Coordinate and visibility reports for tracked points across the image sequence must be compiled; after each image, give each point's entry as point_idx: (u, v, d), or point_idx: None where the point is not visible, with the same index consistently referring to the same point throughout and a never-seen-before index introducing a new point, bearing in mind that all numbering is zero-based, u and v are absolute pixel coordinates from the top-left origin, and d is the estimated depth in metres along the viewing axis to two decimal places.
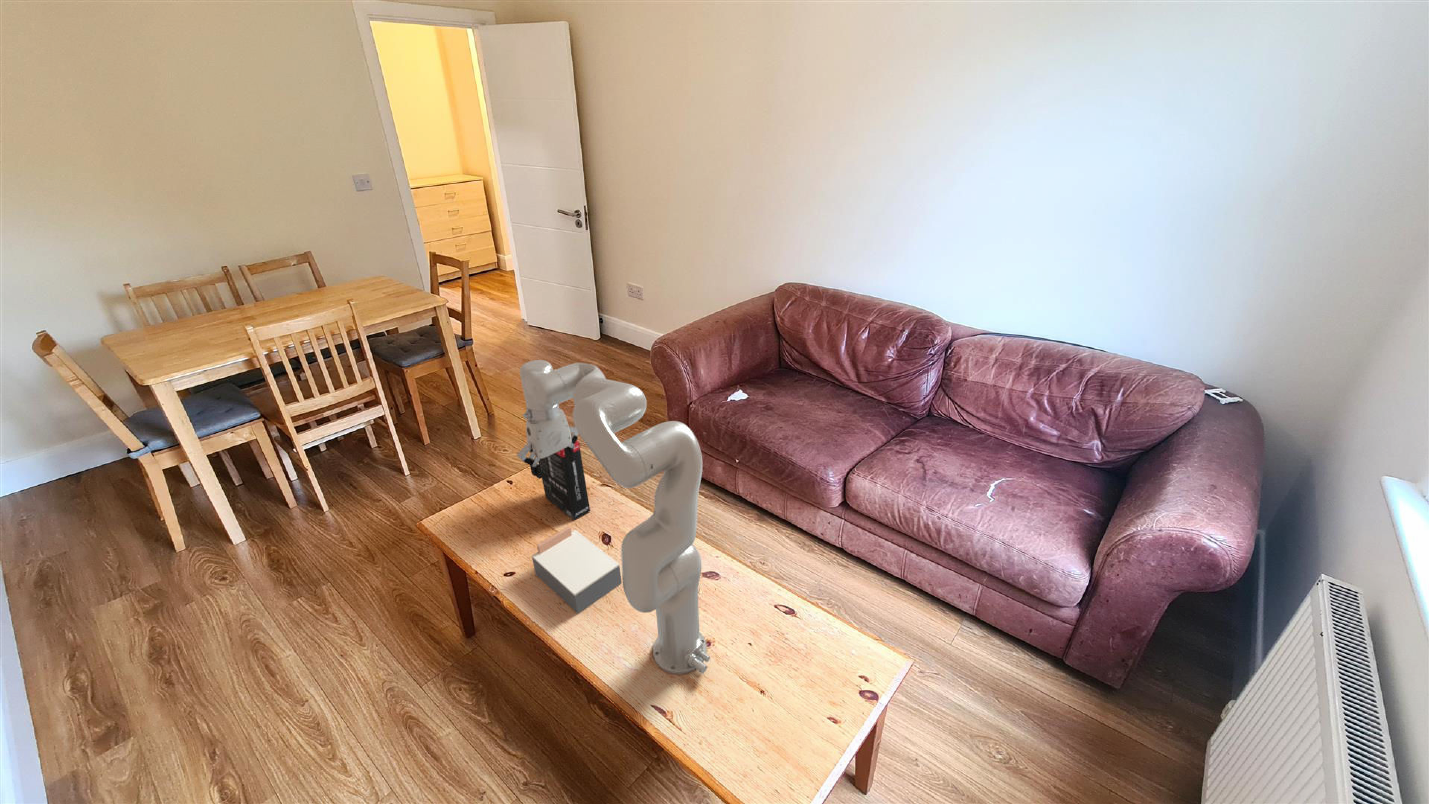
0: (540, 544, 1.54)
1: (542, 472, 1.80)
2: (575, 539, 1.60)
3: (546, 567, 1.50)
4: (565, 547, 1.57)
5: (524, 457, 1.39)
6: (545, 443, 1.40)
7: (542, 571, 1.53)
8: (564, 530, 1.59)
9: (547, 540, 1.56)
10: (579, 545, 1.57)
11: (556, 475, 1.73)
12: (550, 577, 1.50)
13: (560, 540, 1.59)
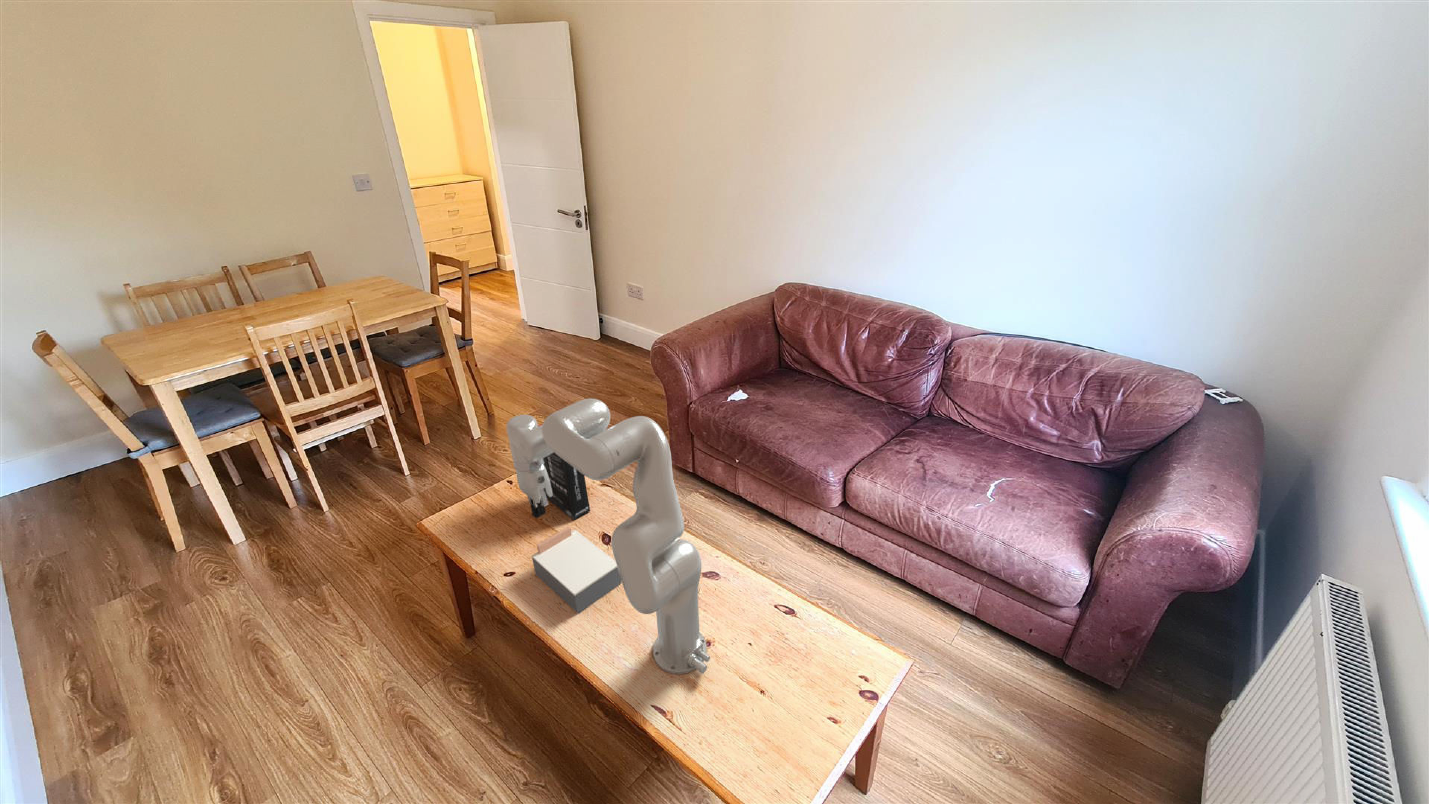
0: (540, 544, 1.54)
1: None
2: (575, 539, 1.60)
3: (546, 567, 1.50)
4: (565, 547, 1.57)
5: None
6: None
7: (542, 571, 1.53)
8: (564, 530, 1.59)
9: (547, 540, 1.56)
10: (579, 545, 1.57)
11: (556, 475, 1.73)
12: (550, 577, 1.50)
13: (560, 540, 1.59)
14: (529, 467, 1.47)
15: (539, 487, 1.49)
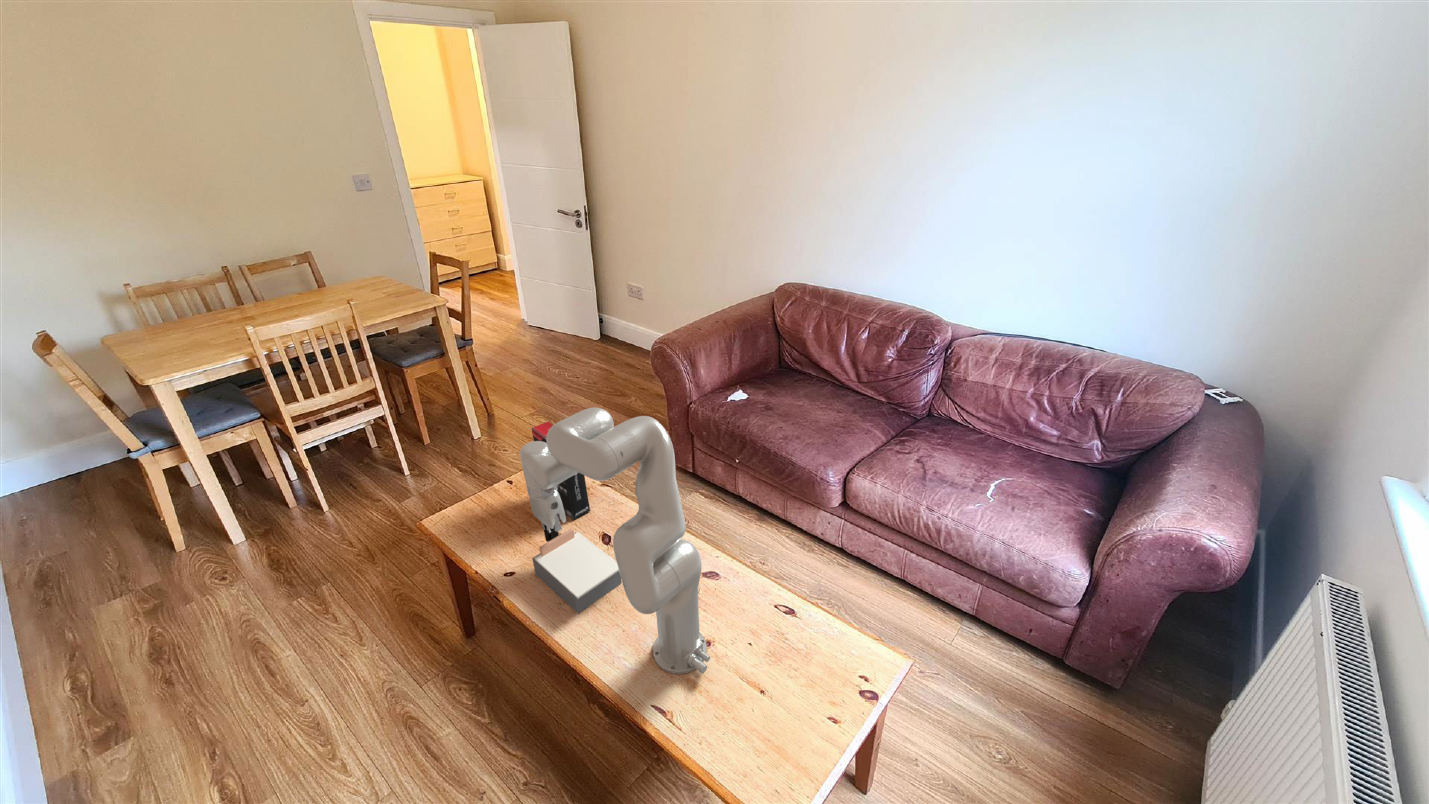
0: (543, 546, 1.54)
1: None
2: (578, 541, 1.59)
3: (549, 570, 1.50)
4: (568, 549, 1.56)
5: None
6: None
7: (542, 571, 1.53)
8: (567, 532, 1.58)
9: (550, 543, 1.55)
10: (582, 547, 1.57)
11: None
12: (550, 577, 1.50)
13: (563, 542, 1.58)
14: (543, 493, 1.47)
15: (553, 513, 1.49)
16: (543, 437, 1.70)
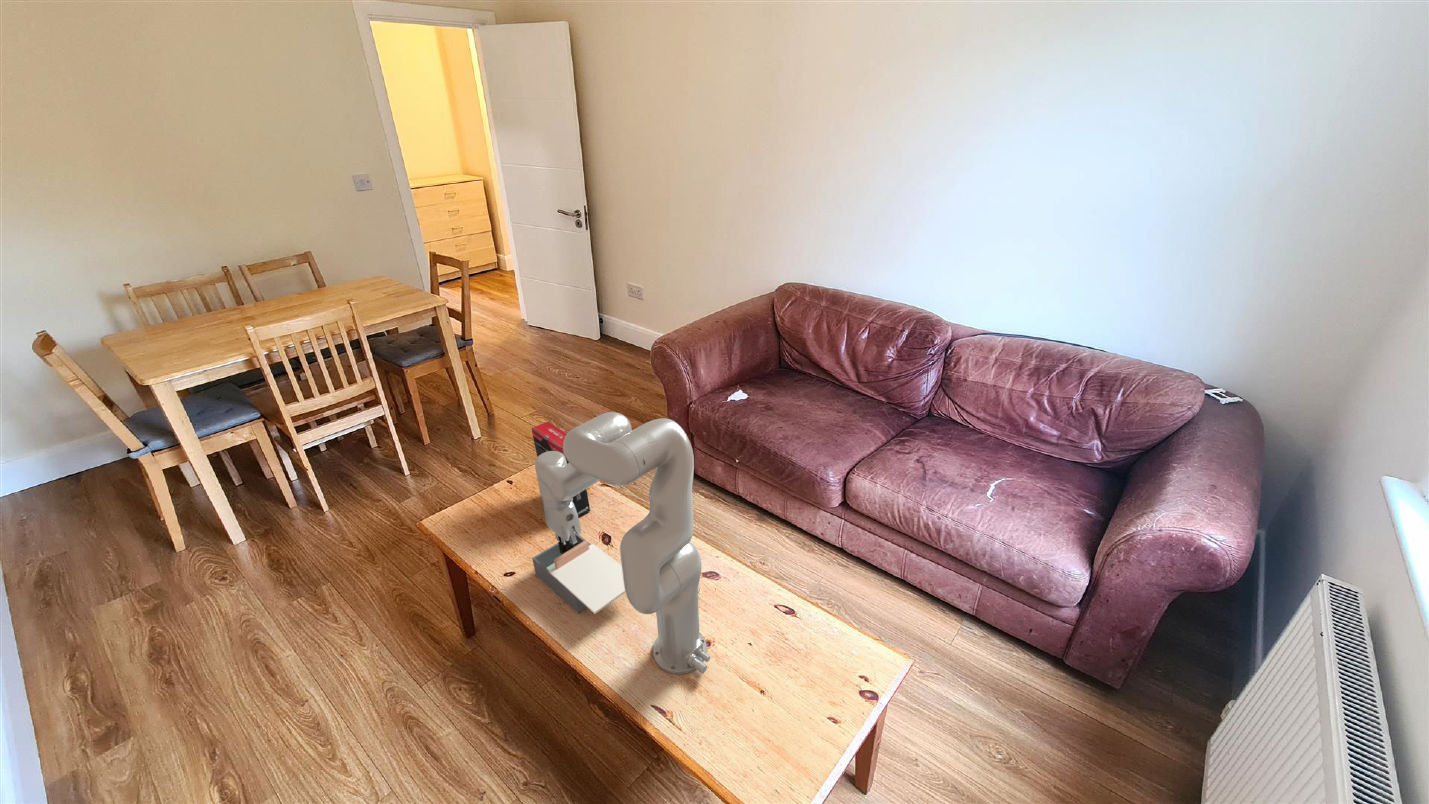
0: (557, 559, 1.49)
1: None
2: (593, 553, 1.54)
3: (564, 583, 1.45)
4: (583, 562, 1.52)
5: None
6: None
7: (542, 571, 1.53)
8: (582, 544, 1.54)
9: (565, 555, 1.51)
10: (597, 560, 1.52)
11: None
12: (550, 577, 1.50)
13: (577, 554, 1.54)
14: (558, 505, 1.43)
15: (568, 525, 1.45)
16: (543, 437, 1.70)
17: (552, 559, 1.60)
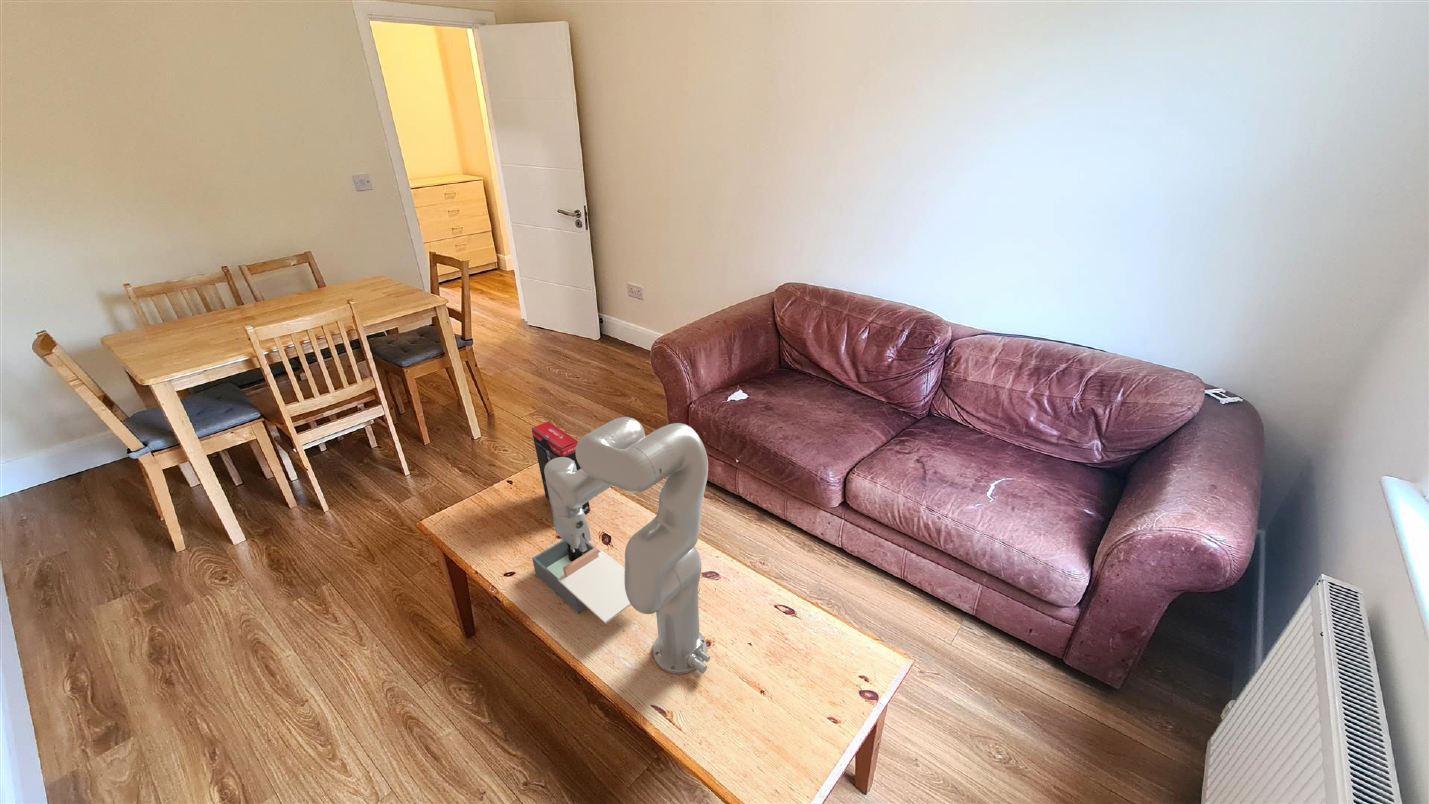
0: (567, 567, 1.47)
1: (542, 472, 1.80)
2: (602, 561, 1.52)
3: (574, 592, 1.43)
4: (592, 570, 1.49)
5: None
6: None
7: (542, 571, 1.53)
8: (591, 551, 1.52)
9: (574, 563, 1.48)
10: (607, 567, 1.50)
11: None
12: (550, 577, 1.50)
13: (587, 562, 1.51)
14: (568, 512, 1.40)
15: (578, 532, 1.42)
16: (543, 437, 1.70)
17: (552, 559, 1.60)
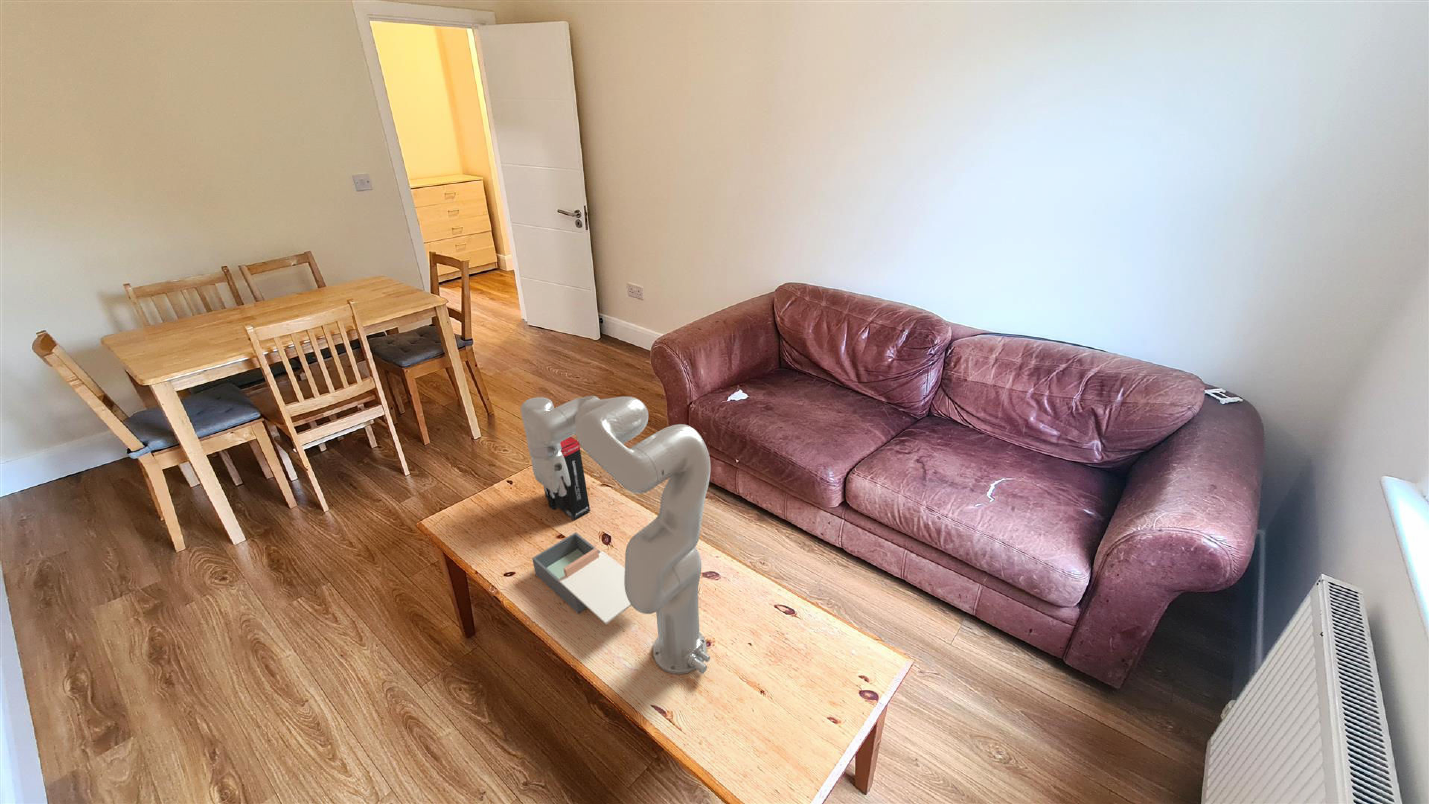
0: (567, 567, 1.47)
1: None
2: (603, 561, 1.52)
3: (574, 592, 1.43)
4: (593, 570, 1.49)
5: None
6: None
7: (542, 571, 1.53)
8: (591, 552, 1.51)
9: (575, 563, 1.48)
10: (607, 568, 1.50)
11: None
12: (550, 577, 1.50)
13: (587, 562, 1.51)
14: (545, 453, 1.36)
15: (556, 475, 1.39)
16: None
17: (552, 559, 1.60)
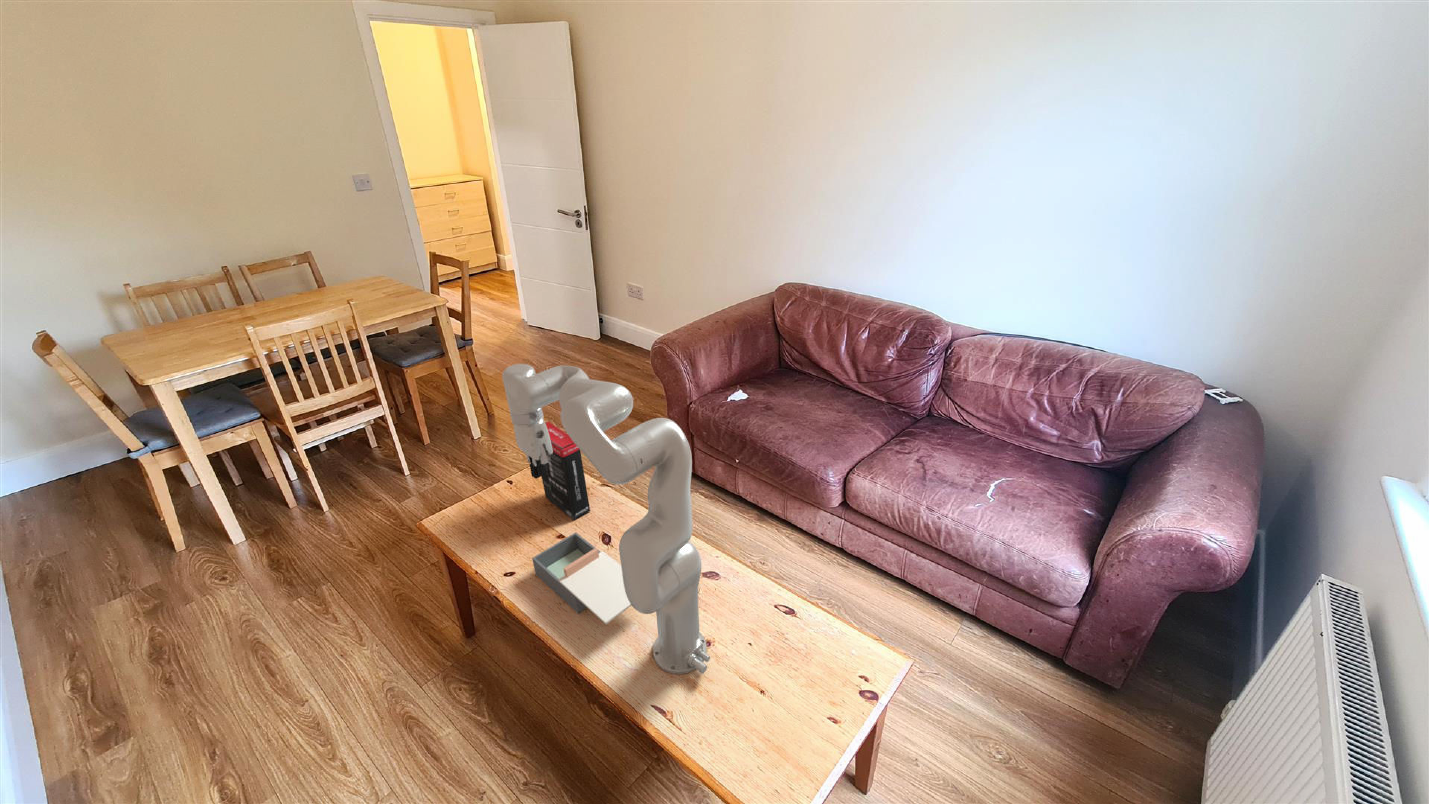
0: (567, 567, 1.47)
1: None
2: (603, 561, 1.52)
3: (574, 592, 1.43)
4: (593, 570, 1.49)
5: None
6: None
7: (542, 571, 1.53)
8: (591, 552, 1.51)
9: (575, 563, 1.48)
10: (607, 568, 1.50)
11: (556, 475, 1.73)
12: (550, 577, 1.50)
13: (587, 562, 1.51)
14: (527, 420, 1.37)
15: (538, 442, 1.39)
16: None
17: (552, 559, 1.60)
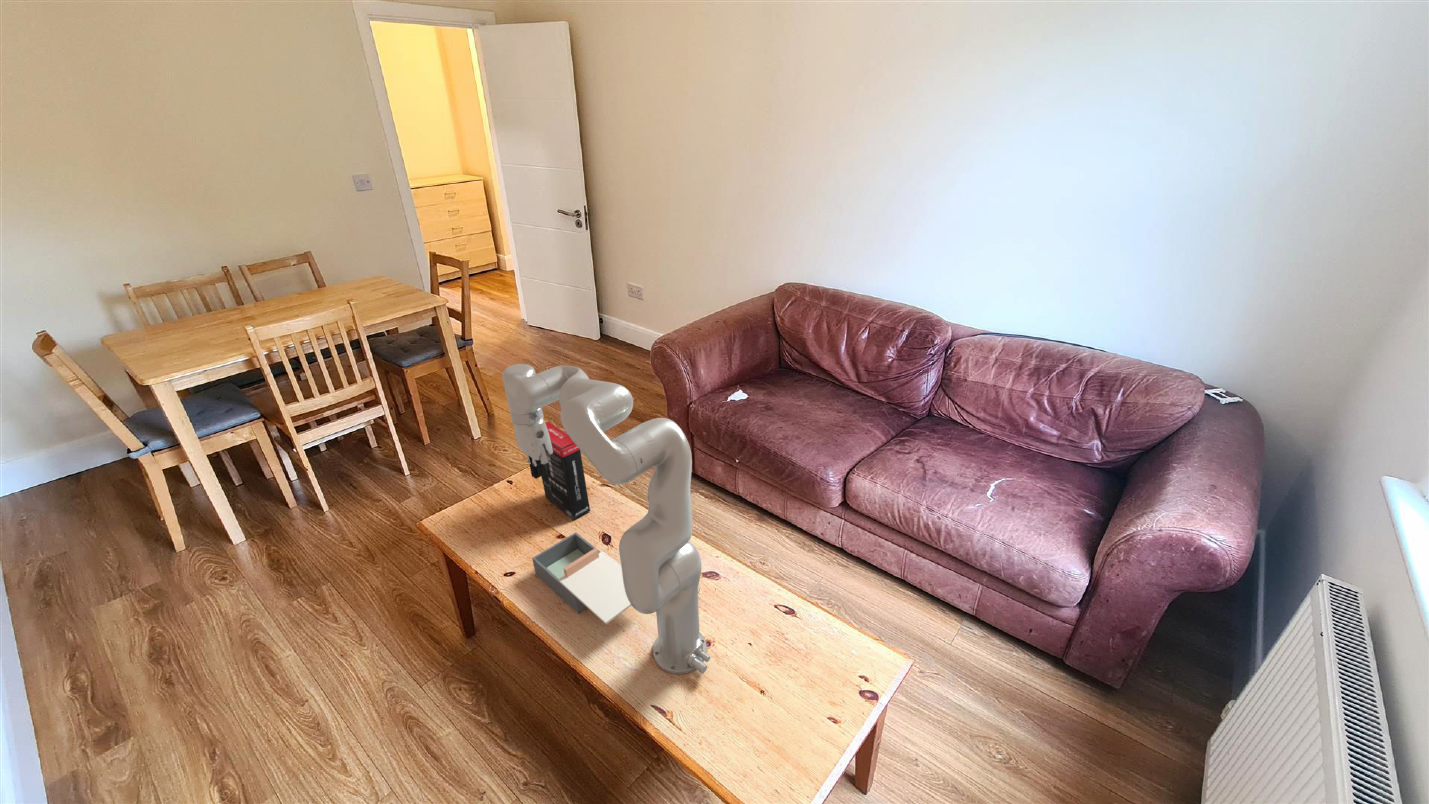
0: (567, 567, 1.47)
1: None
2: (603, 561, 1.52)
3: (574, 592, 1.43)
4: (593, 570, 1.49)
5: None
6: None
7: (542, 571, 1.53)
8: (591, 552, 1.51)
9: (575, 563, 1.48)
10: (607, 568, 1.50)
11: (556, 475, 1.73)
12: (550, 577, 1.50)
13: (587, 562, 1.51)
14: (527, 420, 1.37)
15: (538, 442, 1.39)
16: None
17: (552, 559, 1.60)
